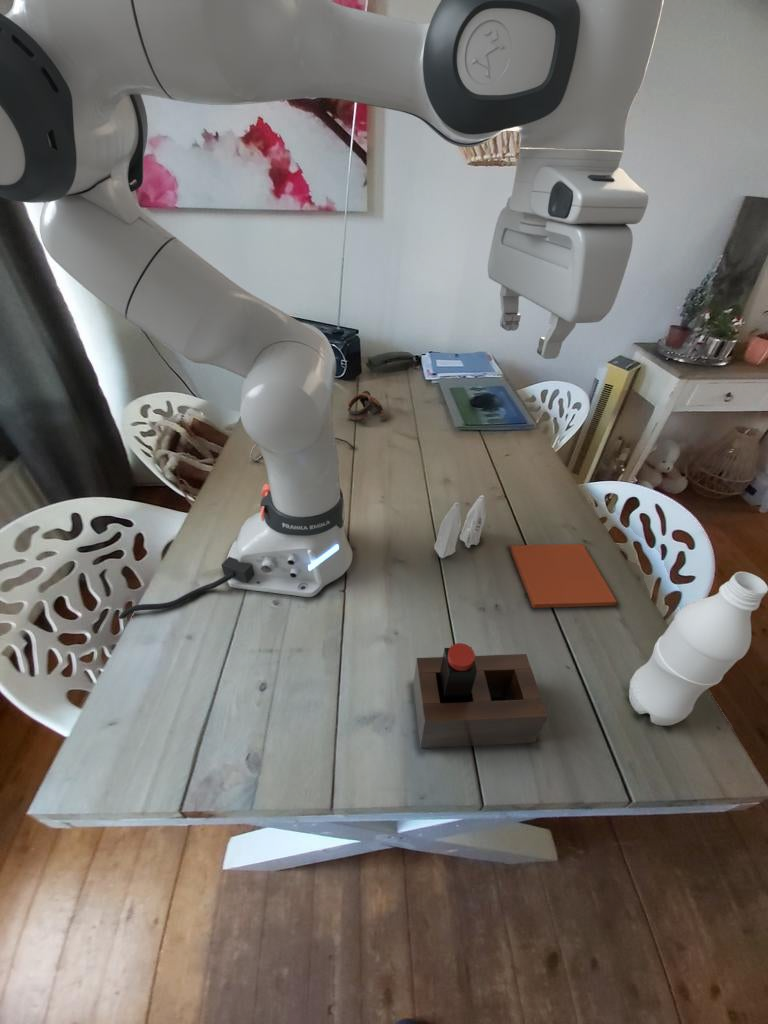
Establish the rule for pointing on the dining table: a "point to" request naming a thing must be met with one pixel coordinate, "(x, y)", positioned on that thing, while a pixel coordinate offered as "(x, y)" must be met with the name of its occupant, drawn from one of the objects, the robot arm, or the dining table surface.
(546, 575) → the mat
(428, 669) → the holder
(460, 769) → the dining table surface
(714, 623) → the water bottle
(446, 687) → the red-capped black post
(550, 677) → the dining table surface
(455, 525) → the shaker set
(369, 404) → the brown looped piece
